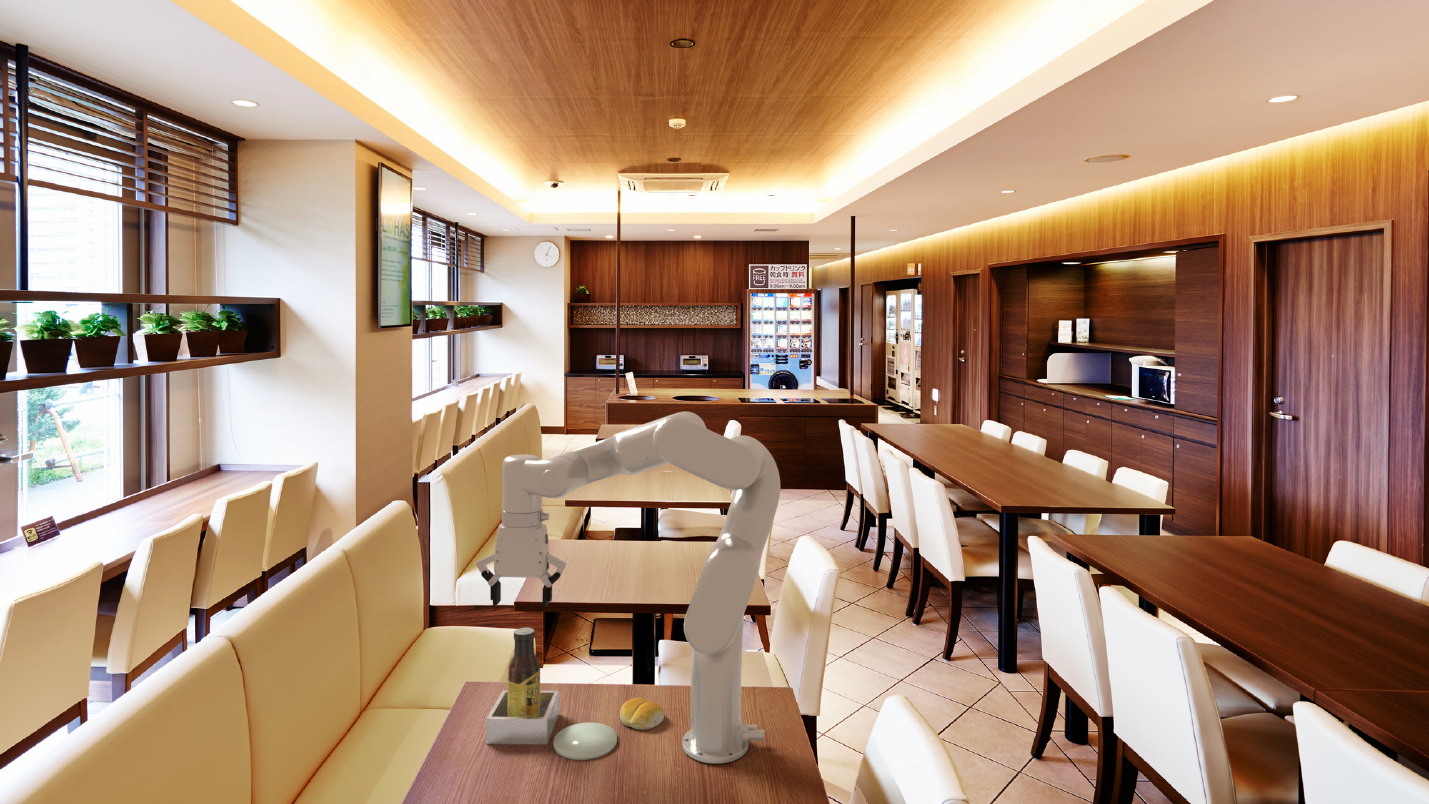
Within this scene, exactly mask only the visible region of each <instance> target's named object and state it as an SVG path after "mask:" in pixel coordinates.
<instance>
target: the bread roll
mask: <svg viewBox="0 0 1429 804" xmlns="http://www.w3.org/2000/svg"><path fill="white" fill-rule="evenodd" d="M664 718H665V711H664V709H663V707H662V706H661V705H660V704H658V703H656V701H649V700H647V699H645V698H643V697H634V698H631V699H629V700H627V701H625V702H624V703H623V704H622V705H621V708H620V710H619V720H620V722H621V723H622V724H623V725H624V726H626V727H631V728H632V729H634V730H639V731H640V730H641V731H643V730H644V731H645V730H651V729H654V728H655V727H657V726H659V725H660V724H662V722H663V720H664Z"/></svg>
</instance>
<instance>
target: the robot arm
mask: <svg viewBox="0 0 1429 804" xmlns="http://www.w3.org/2000/svg"><path fill="white" fill-rule="evenodd" d="M668 464H671V465H673V466H675V467H676V468H679V469H681V470H683V471H684V472H687V473H688V474H691V475H693V476H696V477H697V478H700V479H702V480H704V481H706V482H709V483H711V484H713V485H716V486H717V487H720V488H721V489H726V490H729V491H734V494H733V496H732V500H731V503H730V505H729V508H728V510H727V514H726V517H725V520H724V521H723V525H722V528H721V531H720V533H719V534H718V538H717V540H716V541H715V543H714V544H713V546H712V548H711V549H710V551H709V553H708V555H707V557H706V559H705V562H704V563H703V566H702V569H701V571H700V573H699V574H700V575H699V578H698V580H697V583H696V586H695V589H694V590H693V594H692V597H691V599H690V603H689V605H688V607H687V611H686V614H685V617H684V622H683V632H684V635H685V638H686V641H687V643H689V645H690V647H691V670H690V672H691V675H690V676H691V677H690V678H691V679H690V680H691V681H690V682H691V683H690V729H689V730H688V731H687V732H685V733H684V735H683V737H682V742H681V743H682V745H681V746H682V750H683V751H684V753H685V754H686V755H688V756H689V757H690V758H692V759H694V760H695V761H698V762H701V763H705V764H706V763H707V764H718V765H719V764H726V763H727V764H728V763H731V762H734V761H736V760H738V759H740V758H741V757H743V756H745V754H746V753H747V751H748V750H749V741H755V742H764V741H765V738H766V735H765V729H758V724H745V723H743V719H742V717H743V716H742V713H741V712H742V711H741V710H742V707H741V705H742V704H741V703H742V664H743V662H742V660H743V658H742V657H743V636H744V635H743V634H744V619H745V611H746V610H747V607H748V604H749V602H750V598H751V596H752V593H753V590H754V588H755V584H756V582H757V578H758V574H759V571H760V568H761V562H762V556H763V552H764V549H765V547H766V543H767V540H768V538H769V535H770V532H771V528H772V525H773V522H774V519H775V516H776V513H777V511H778V510H777V509H778V506H779V502H780V495H781V479H780V478H781V477H780V472H779V468H778V466H777V462H776V461H775V459H774V457H773V455H772V453H770V451H769V450H768V448H767V447H765V445H764V444H763V443H761V441H759V440H758V439H756V438H754V437H752V436H749V435H737V436H733V437H731V438H728V437H726V436H723V435H721V434H719V433H717V432H714V431H712V430H711V429H708V428H707V426H706V423H705V422H704V420H703V418H701V417H700V416H699V415H697V414H696V413H694V412H691V411H680V412H676V413H673V414H670V415H666V416H664V417H661V418H658V419H655V420H652V421H650V422H649V421H648V422H647V423H646V422H645V423H644V424H641V425H637V426H635V427H631V428H629V429H626V430H625V429H624V430H622V431H620V432H617V433H614V434H613V435H612V436H610V437H607V438H605V439H602V440H599V441H596V442H594V443H591V444H587V445H585V446H582V447H578V448H575V449H573V450H570V451H567V452H564V453H562V454H559V455H556V456H554V457H551V458H547V459H541V458H540V457H539V456H537V455H533V454H513V455H509V456H506V457H505V458H504V459H503V461H502V466H501V474H502V475H501V476H502V477H501V481H502V482H501V484H502V485H501V487H502V488H501V523H499V525H498V528H497V533H496V538H495V545H494V552H493V553H492V554H490V555H488V556H485V557H483V558H481V559H480V560H478V561H477V562H476V567H477V568H478V571H479V572H480V575H481V577H482V578H483V579H484V580H485V581H486V582H487V585H488V586H490V590H489V591H490V595H489V597H490V598H489V599H490V601H492V606H493V607H496V606H498V605H499V604H500V602H501V601H502V591H501V590H502V583H501V581H500V578H501V577H502V578H522V579H523V578H524V579H525V578H531V579H532V578H533V579H534V578H538V579H540V581H541V582H542V584H544V586H542V597H541V598H542V601H541V602H542V605H541V606H542V607H543V608H547V606H548V605H549V603H550V602H552V600H553V585H554V584H555V583H556V582H557V581H558V580H559V579H560V577H561V576H562V574H563V573H564V571H565V569H566V567H567V563H566V561H564V560H561V558H557V557H555V556H554V555H552V554H550V544H549V543H550V542H549V534H548V527H547V524H546V523H544V522H545V521H549V520H550V513H547V512H544V510H543V509H544V508H543V498H548V499H560V498H564V497H566V496H567V495H569V494H570V493H573V492H575V491H576V490H577V489H579V488H581V487H585V486H587V485H589V484H592V483H595V482H599V481H602V480H604V479H608V478H611V477H614V476H619V475H624V476H634V475H638V474H640V473H643V472H647V471H649V470H653V469H655V468H659V467H661V466H665V465H668ZM492 562H493V572H494V573H493V572H492V571H491V570H490V569H488V566H487V565H488V564H489V565H490V564H491V563H492ZM550 565H552V566H554V567H556V571H555V572H554V573H553V574H552V573H550V572H549V570H550Z"/></svg>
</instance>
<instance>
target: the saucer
mask: <svg viewBox="0 0 1429 804" xmlns="http://www.w3.org/2000/svg"><path fill="white" fill-rule="evenodd" d="M617 736H618V735H617V732H616V731H615V729H614V728H612V727H611V726H609V725H607V724H603V723H599V722H581V723H575V724H571V725H569V726H566V727H564V728H563V729H561V730H560V731H558V732H557V733H556V734H555V736H554V738H553V749H554V751H555V752H556V753H557V755H559V756H560V757H563V758H565V759H568V760H572V761H574V760H575V761H587V760H588V761H589V760H593V759H597V758H600V757H603V756H605V755H607V754H609V753H610V752H611V751H613V749H615V747H616V745H617V743H618V737H617Z"/></svg>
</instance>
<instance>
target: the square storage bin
mask: <svg viewBox="0 0 1429 804" xmlns="http://www.w3.org/2000/svg"><path fill="white" fill-rule="evenodd" d="M559 716H560V690H540V717H508V689H507V690H503V689H502V691H501V693H500V694H499V696H498V698H497V699H496V701H495V702H494V705H493V706H492V708H491V710H490V712H489V713H488V715H487V716H486V718H485V734H486V735H485V737H486V738H485V741H486V745H548V743H549V742H550V741H549V740H550V738H551V735H552V733H553V731H554V728H555V726H556V722H557V720H558V718H559Z"/></svg>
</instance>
